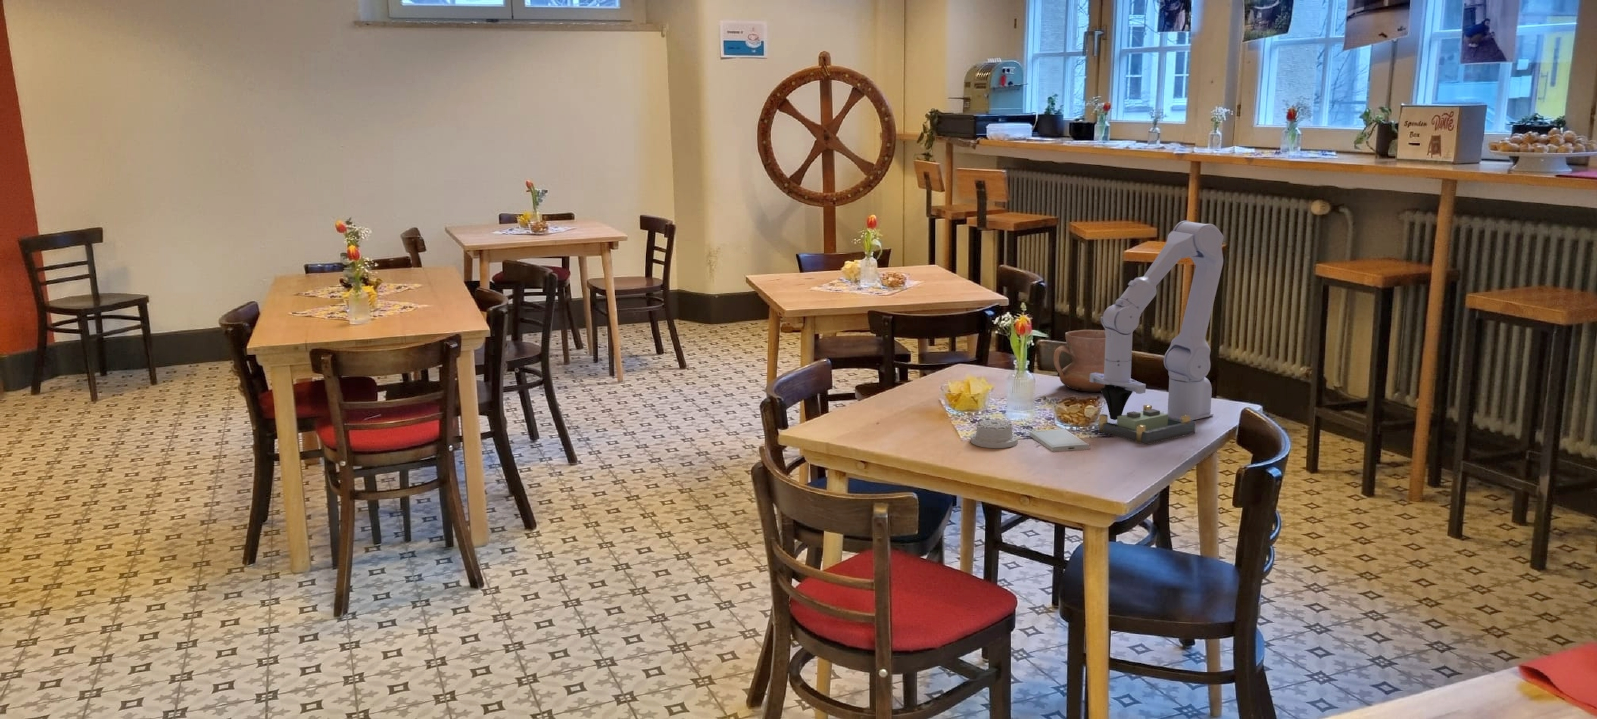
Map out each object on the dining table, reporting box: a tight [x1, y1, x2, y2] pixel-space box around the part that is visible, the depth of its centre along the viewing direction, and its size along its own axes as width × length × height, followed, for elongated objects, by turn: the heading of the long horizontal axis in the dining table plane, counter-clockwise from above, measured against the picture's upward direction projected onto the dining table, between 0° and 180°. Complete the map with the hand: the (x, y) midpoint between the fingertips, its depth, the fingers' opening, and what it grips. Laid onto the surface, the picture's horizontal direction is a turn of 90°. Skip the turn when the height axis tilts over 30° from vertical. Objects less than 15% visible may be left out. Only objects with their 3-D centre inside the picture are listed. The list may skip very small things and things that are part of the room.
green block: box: [1116, 408, 1168, 431], centre depth 252 cm, size 10×5×5 cm, turn 120°
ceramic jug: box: [1052, 329, 1106, 393], centre depth 291 cm, size 18×14×14 cm
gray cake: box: [970, 418, 1019, 449], centre depth 247 cm, size 10×4×10 cm
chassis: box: [1098, 404, 1196, 446], centre depth 252 cm, size 16×14×4 cm
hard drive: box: [1029, 428, 1091, 452], centre depth 246 cm, size 2×8×12 cm
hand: (1115, 418), depth 259 cm, fingers closed
